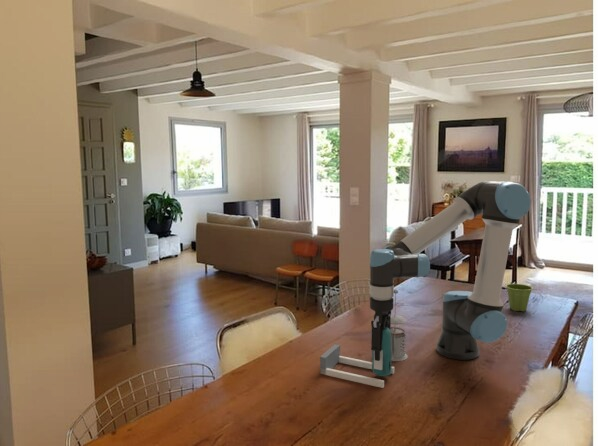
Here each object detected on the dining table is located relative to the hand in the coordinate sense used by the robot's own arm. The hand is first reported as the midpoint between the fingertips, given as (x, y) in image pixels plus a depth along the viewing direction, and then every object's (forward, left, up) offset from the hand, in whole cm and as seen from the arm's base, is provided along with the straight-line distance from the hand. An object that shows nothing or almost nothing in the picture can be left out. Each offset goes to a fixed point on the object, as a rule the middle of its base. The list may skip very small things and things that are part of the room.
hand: (381, 365), depth 154 cm
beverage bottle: (0, -1, -4) cm, 4 cm away
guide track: (+8, 0, -4) cm, 9 cm away
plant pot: (-36, -100, -5) cm, 106 cm away
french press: (+1, -19, -5) cm, 19 cm away
